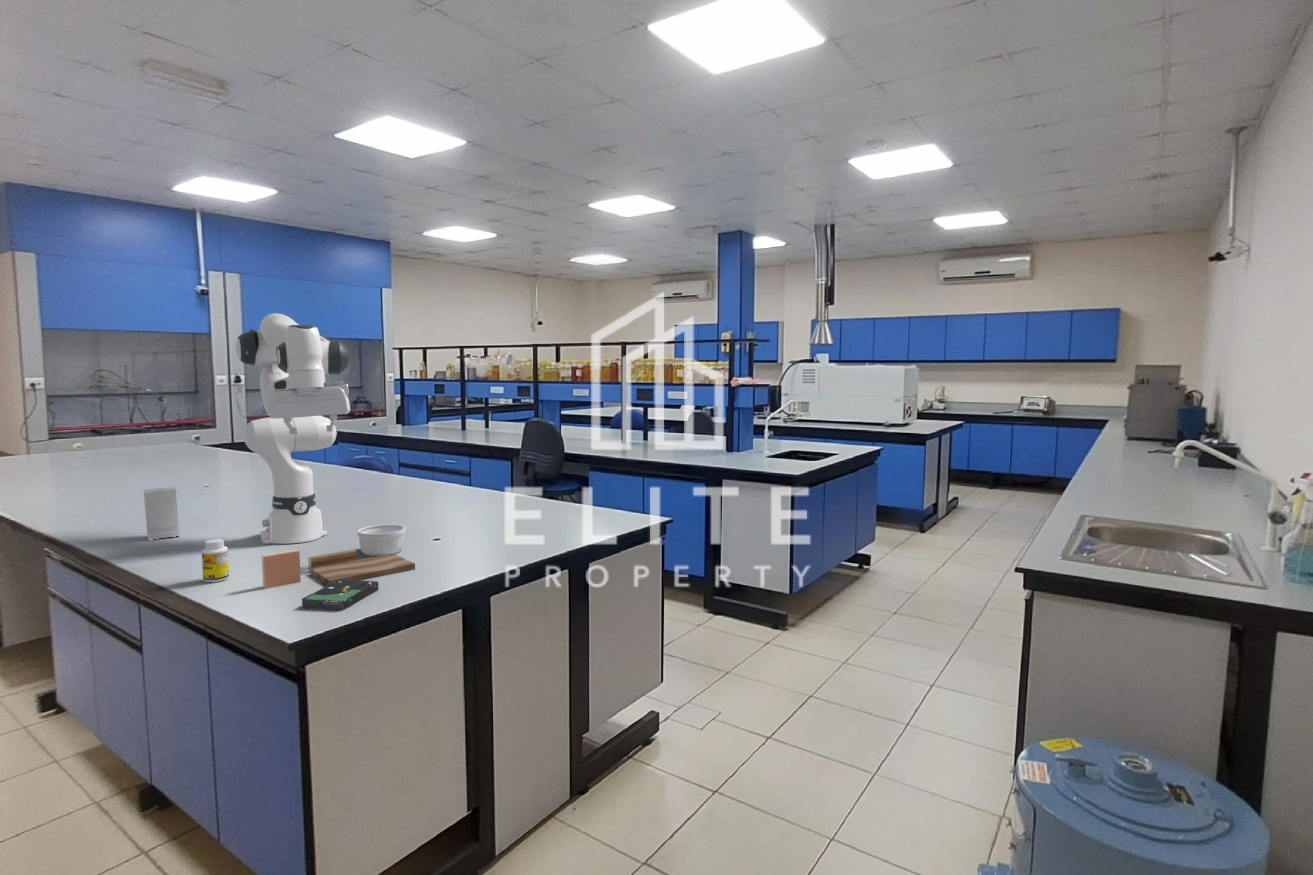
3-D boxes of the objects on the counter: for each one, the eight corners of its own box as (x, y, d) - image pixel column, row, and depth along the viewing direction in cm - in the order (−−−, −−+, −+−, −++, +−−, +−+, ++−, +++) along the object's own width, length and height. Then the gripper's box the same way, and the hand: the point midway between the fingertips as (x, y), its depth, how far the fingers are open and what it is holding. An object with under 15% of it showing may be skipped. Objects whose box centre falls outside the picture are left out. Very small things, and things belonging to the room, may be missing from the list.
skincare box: (178, 533, 216) (175, 486, 215) (180, 537, 211) (177, 489, 210) (146, 537, 211) (143, 489, 210) (147, 541, 206) (144, 492, 205)
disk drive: (340, 589, 164) (301, 610, 150) (339, 578, 164) (300, 598, 149) (379, 591, 163) (344, 612, 148) (379, 580, 163) (343, 600, 148)
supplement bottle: (198, 581, 168) (196, 541, 167) (221, 575, 173) (219, 536, 172) (210, 584, 165) (208, 544, 164) (234, 578, 170) (232, 539, 169)
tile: (263, 586, 164) (261, 555, 163) (298, 580, 170) (296, 549, 169) (265, 588, 163) (263, 556, 162) (300, 581, 168) (299, 551, 168)
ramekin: (348, 555, 194) (347, 531, 193) (379, 544, 206) (378, 522, 205) (385, 559, 190) (385, 535, 189) (415, 548, 202) (414, 525, 202)
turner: (351, 559, 189) (351, 548, 188) (359, 564, 184) (359, 552, 184) (273, 574, 175) (273, 561, 174) (280, 579, 170) (279, 566, 170)
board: (310, 574, 175) (310, 568, 174) (393, 558, 190) (393, 553, 190) (329, 586, 165) (329, 580, 165) (415, 569, 180) (415, 563, 180)
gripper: (350, 381, 187) (355, 429, 188) (271, 386, 183) (276, 435, 183) (345, 379, 181) (349, 429, 182) (263, 384, 177) (267, 435, 177)
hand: (312, 432), depth 183 cm, fingers open, 8 cm apart
